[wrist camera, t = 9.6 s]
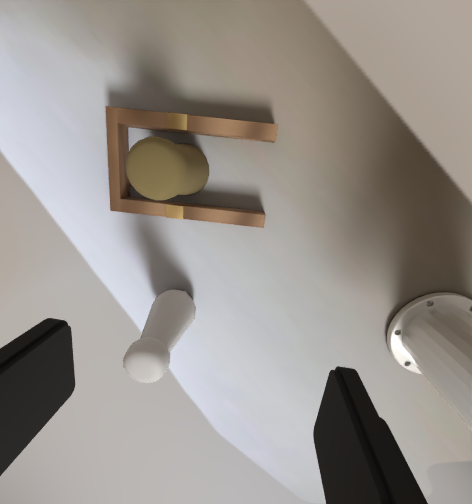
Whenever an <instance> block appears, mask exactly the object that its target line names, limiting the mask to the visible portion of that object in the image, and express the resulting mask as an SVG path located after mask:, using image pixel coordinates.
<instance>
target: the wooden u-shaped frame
mask: <svg viewBox="0 0 472 504" xmlns="http://www.w3.org/2000/svg"><path fill="white" fill-rule="evenodd" d="M106 124H107V145H108V167H109V188H110V209H111V211H119V212H128V213H136V214H145V215H154V216H163V217H167V218H176V219H190V220H199V221H207V222H216V223H225V224H234V225H243V226H252V227H261V228H264V223H265V216H266V215H265V212H261V211H252V210H243V209H234V208H225V207H216V206H207V205H198V204H189V203H180V202H171V201H162V200H153V199H145V198H136V197H130V187H129V179H128V176H127V173H126V159H127V155H128V153H129V144H128V127H132V128H141V129H151V130H160V131H170V132H179V133H188V134H198V135H207V136H217V137H226V138H235V139H245V140H254V141H264V142H273V143H274V142H275V141H276V137H277V130H278V124H269V123H260V122H250V121H241V120H231V119H222V118H212V117H203V116H193V115H187V114H179V113H170V112H168V113H165V112H155V111H146V110H136V109H127V108H117V107H108V106H106Z"/></svg>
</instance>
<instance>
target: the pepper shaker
mask: <svg viewBox="0 0 472 504" xmlns="http://www.w3.org/2000/svg"><path fill="white" fill-rule="evenodd" d="M126 173H127V176H128V179H129V181H130V183H131V185H132V186H133V187H134V188H135V190H136V191H137V192H139V193H140V194H142V195H143V196H144V197H147V198H150V199H153V200H167V199H170V198H172V197H175V196H176V195H192V194H195V193H197V192H199V191H200V190H201V189H203V187H204V186H205V184H206V183H207V180H208V176H209V165H208V162H207V159H206V157H205V156H204V154H203V153H202V152H201V150H199V149H198V148H196V147H195V146H193V145H190V144H187V143H178V144H174V143H173V142H171V141H170V140H167V139H164V138H161V137H147V138H145V139H142V140H140V141H138V142H137V143H136V144H134V145H133V146H132V147H131V149H130V151H129V153H128V155H127V159H126Z"/></svg>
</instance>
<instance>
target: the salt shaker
mask: <svg viewBox="0 0 472 504" xmlns="http://www.w3.org/2000/svg"><path fill="white" fill-rule="evenodd" d="M195 311H196V307H195V304H194V302H193V300H192V299H191V297H190V296H189V295H188V293H187V292H186V291H182V290H175V289H172V290H167V291H165V292H163V293H162V294H160V295H158V296H157V298H156V299H155V301H154V302H153V304H152V307H151V310H150V313H149V315H148V318H147V321H146V324H145V327H144V330H143V332H142V335H141V338H140V339H139V340H137V341H136V342H134V343H133V344H132V345H131V346H130V347H129V349H128V351H127V352H126V354H125V356H124V358H123V359H124V360H123V362H124V368H125V370H126V372H127V374H128V375H129V376H130V377H131V378H132V379H134V380H136V381H138V382H141V383H151V382H155V381H157V380H159V379H161V377H162V376H163V374H164V373H165V371H166V370H167V369H168V366H169V363H170V351H171V350H172V349H173V347H174V346H175V345H176V343H177V342H178V341H179V339H180V338H181V337H182V335H183V334H184V332H185V331H186V330H187V328H188V327H189V326H190V324H191V323H192V321H193V320H194V319H195Z"/></svg>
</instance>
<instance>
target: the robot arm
mask: <svg viewBox="0 0 472 504" xmlns="http://www.w3.org/2000/svg"><path fill="white" fill-rule="evenodd" d="M387 345H388V348H389V351H390V353H391V354H392V356H393V357H394V358H395V360H396V361H397V362H398V363H399V364H400V365H401V366H402V367H404V368H406V369H408V370H410V371H412V372H415V373H419V374H423V375H424V376H425V378H426V379H427V380H428V381H429V382H430V383H431V385H432V386H433V387H434V388H435V389H436V390H437V392H438V393H439V394H440V395H441V396H442V398H443V399H444V400H445V401H446V402H447V403H448V405H449V406H450V407H451V408H452V409H453V410H454V412H455V413H456V414H457V415H458V416H459V417H460V419H461V420H462V421H463V422H464V423H465V425H466V426H467V427H468V428H469V429H470V430H471V432H472V300H471V299H469V298H467V297H465V296H463V295H459V294H456V293H449V292H439V293H432V294H427V295H424V296H422V297H419V298H417V299H415V300H413V301H411V302H410V303H408V304H407V305H406V306H404V307H403V308H402V309H401V310H400V311H399V312H398V313H397V314H396V315H395V317H394V318H393V320H392V321H391V323H390V326H389V328H388V333H387ZM74 388H75V376H74V362H73V349H72V335H71V327H70V326H68V323H67V322H66V321H64V320H58V319H53V318H47V319H46V320H43V321H42V322H40V323H39V324H37V325H36V326H34V327H33V328H31V329H30V330H28V331H27V332H25V333H24V334H22V335H21V336H19V337H17V338H16V339H14V340H13V341H11V342H10V343H8V344H7V345H5V346H4V347H2V348H1V349H0V476H1V474H2V473H3V472H4V471H5V470H6V469H7V468H8V466H9V465H10V464H11V463H12V462H13V461H14V460H15V458H16V457H17V456H18V455H19V454H20V453H21V452H22V451H23V449H24V448H25V447H26V446H27V445H28V444H29V443H30V441H31V440H32V439H33V438H34V437H35V436H36V435H37V433H38V432H39V431H40V430H41V429H42V428H43V427H44V426H45V424H46V423H47V422H48V421H49V420H50V419H51V418H52V416H53V415H54V414H55V413H56V412H57V411H58V409H59V408H60V407H61V406H62V405H63V404H64V403H65V402H66V400H67V399H68V398H69V397H70V396H71V394H72V393H73V391H74ZM314 444H315V449H316V454H317V459H318V464H319V469H320V474H321V479H322V484H323V489H324V494H325V499H326V504H428V503H427V501H426V499H425V497H424V495H423V493H422V491H421V489H420V487H419V485H418V484H417V482H416V480H415V478H414V476H413V474H412V472H411V470H410V468H409V466H408V464H407V462H406V460H405V458H404V456H403V454H402V452H401V450H400V448H399V446H398V444H397V442H396V440H395V438H394V436H393V435H392V433H391V431H390V429H389V427H388V425H387V423H386V422H385V420H383V419H382V418H380V417H379V415H378V413H377V411H376V409H375V407H374V405H373V403H372V401H371V399H370V397H369V395H368V393H367V391H366V389H365V387H364V385H363V383H362V381H361V379H360V377H359V375H358V373H357V371H356V370H355V369H351V368H345V367H339V366H338V367H336V369H335V370H331V371H330V373H329V376H328V380H327V383H326V387H325V391H324V394H323V398H322V401H321V405H320V408H319V412H318V416H317V419H316V423H315V426H314Z"/></svg>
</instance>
